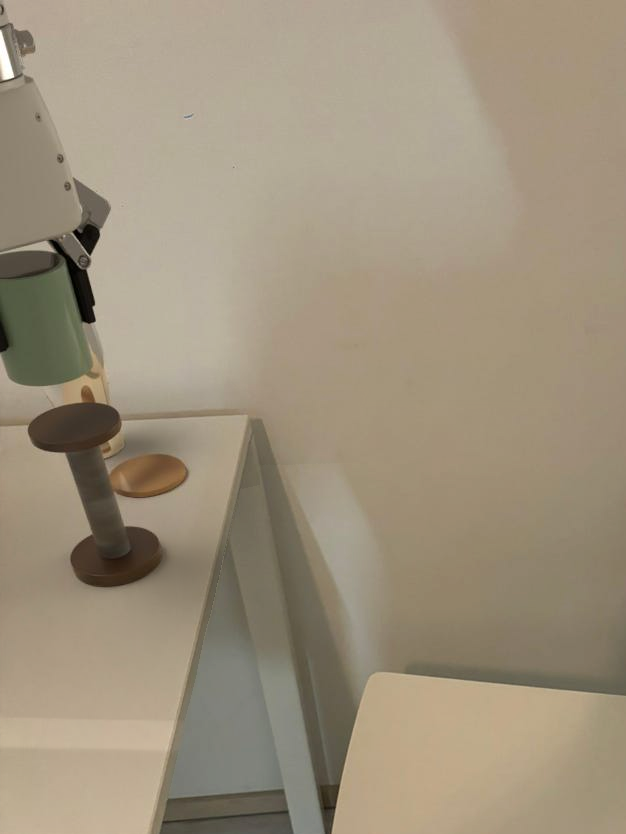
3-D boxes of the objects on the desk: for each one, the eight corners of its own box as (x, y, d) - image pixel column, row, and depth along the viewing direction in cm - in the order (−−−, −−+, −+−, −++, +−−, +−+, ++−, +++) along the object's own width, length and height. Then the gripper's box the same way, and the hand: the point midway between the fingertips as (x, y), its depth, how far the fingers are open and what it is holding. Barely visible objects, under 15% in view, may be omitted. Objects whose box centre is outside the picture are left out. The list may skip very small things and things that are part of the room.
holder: (60, 586, 83) (7, 445, 74) (91, 535, 89) (45, 399, 80) (147, 587, 83) (105, 446, 74) (172, 536, 89) (135, 400, 79)
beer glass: (137, 451, 101) (100, 315, 91) (72, 470, 98) (26, 331, 88) (117, 425, 105) (78, 292, 95) (54, 443, 102) (8, 308, 92)
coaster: (99, 496, 94) (98, 491, 94) (123, 458, 100) (122, 453, 99) (174, 497, 94) (173, 492, 93) (194, 459, 100) (193, 454, 99)
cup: (-7, 385, 71) (-45, 279, 66) (27, 350, 76) (-6, 248, 71) (77, 387, 71) (45, 281, 66) (105, 352, 76) (78, 250, 71)
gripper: (51, 37, 67) (113, 289, 78) (-213, 71, 57) (-97, 353, 69) (109, 50, 63) (165, 313, 75) (-164, 89, 53) (-50, 384, 65)
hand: (39, 330), depth 71 cm, fingers closed on cup, 6 cm apart
